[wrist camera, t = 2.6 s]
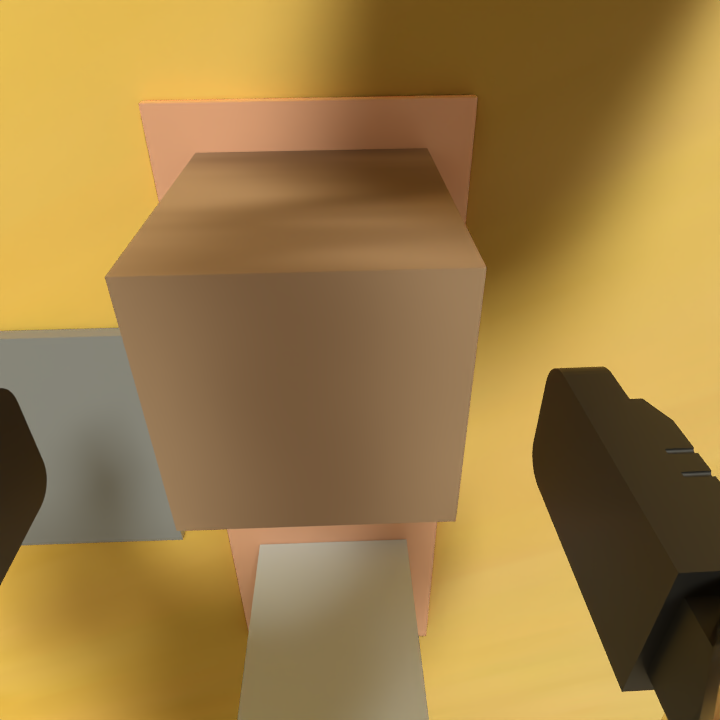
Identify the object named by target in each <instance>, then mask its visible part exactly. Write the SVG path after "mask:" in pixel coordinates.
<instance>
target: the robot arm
mask: <svg viewBox="0 0 720 720" xmlns="http://www.w3.org/2000/svg"><path fill="white" fill-rule="evenodd" d="M693 449H694V447H693V446H692V445H691V443H690V442H689V441H688V439H687V438H686V437H685V435H684V434H683V433H682V432H681V430H680V429H679V428H678V426H677V425H676V424H675V422H674V421H673V420H672V419H670V418H669V417H667V416H666V415H664V414H663V413H662V412H660V411H659V410H657V409H656V408H655V407H653V406H652V405H650V404H649V403H648V402H646V401H645V400H643V399H629V397H628V396H627V395H626V393H625V392H624V390H623V389H622V387H621V386H620V385H619V383H618V382H617V380H616V379H615V377H614V376H613V375H612V373H611V372H610V371H609V370H608V369H607V368H605V367H581V368H555V369H552V370H551V371H550V373H549V375H548V377H547V381H546V385H545V390H544V395H543V399H542V404H541V409H540V414H539V419H538V423H537V428H536V433H535V438H534V442H533V452H532V458H533V469H534V474H535V479H536V482H537V485H538V488H539V490H540V492H541V495H542V497H543V500H544V502H545V505H546V507H547V510H548V512H549V514H550V517H551V519H552V522H553V524H554V527H555V529H556V532H557V534H558V536H559V539H560V541H561V544H562V546H563V549H564V551H565V554H566V556H567V558H568V561H569V563H570V566H571V568H572V571H573V573H574V576H575V578H576V580H577V583H578V585H579V588H580V590H581V593H582V595H583V598H584V600H585V602H586V605H587V607H588V610H589V612H590V615H591V617H592V620H593V622H594V625H595V627H596V629H597V632H598V634H599V637H600V639H601V642H602V644H603V647H604V649H605V651H606V654H607V656H608V659H609V661H610V664H611V666H612V669H613V671H614V673H615V676H616V678H617V681H618V683H619V686H620V688H621V691H622V692H624V691H641V690H655V692H656V695H657V697H658V699H659V701H660V703H661V706H662V708H663V710H664V712H665V714H664V715H663V717H662V719H661V720H720V481H719V480H718V479H717V477H716V476H714V477H712V475H711V470H710V468H709V467H708V466H707V464H706V463H705V462H704V460H703V459H702V458H701V456H700V455H699V454H698V453H694V450H693ZM46 487H47V474H46V468H45V464H44V461H43V459H42V457H41V454H40V452H39V450H38V447H37V445H36V443H35V441H34V438H33V436H32V434H31V431H30V429H29V427H28V424H27V422H26V420H25V417H24V415H23V413H22V410H21V408H20V406H19V404H18V401H17V399H16V397H15V396H14V395H13V393H12V392H10V391H9V390H7V389H5V388H0V585H1V583H2V581H3V579H4V577H5V575H6V573H7V571H8V569H9V567H10V565H11V563H12V562H13V560H14V558H15V556H16V554H17V552H18V550H19V548H20V546H21V544H22V542H23V540H24V539H25V537H26V535H27V533H28V531H29V529H30V527H31V525H32V523H33V521H34V519H35V517H36V515H37V514H38V512H39V510H40V508H41V506H42V503H43V501H44V498H45V493H46Z"/></svg>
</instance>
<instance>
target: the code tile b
mask: <svg viewBox="0 0 720 720" xmlns="http://www.w3.org/2000/svg"><path fill="white" fill-rule="evenodd" d="M436 527H437V522H419V523H390V524H362V525H333V526H305V527H276V528H248V529H227V531H228V535H229V540H230V545H231V550H232V555H233V559H234V564H235V569H236V574H237V579H238V583H239V588H240V593H241V598H242V603H243V607H244V612H245V617H246V622H247V627H248V631H249V626H250V618H251V610H252V602H253V595H254V587H255V579H256V571H257V564H258V556H259V548H260V545H262V544H290V543H318V542H346V541H374V540H402V539H406V540H407V548H408V556H409V564H410V572H411V580H412V588H413V596H414V604H415V612H416V620H417V628H418V636H426V631H427V621H428V610H429V600H430V589H431V579H432V569H433V558H434V548H435V537H436Z"/></svg>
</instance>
